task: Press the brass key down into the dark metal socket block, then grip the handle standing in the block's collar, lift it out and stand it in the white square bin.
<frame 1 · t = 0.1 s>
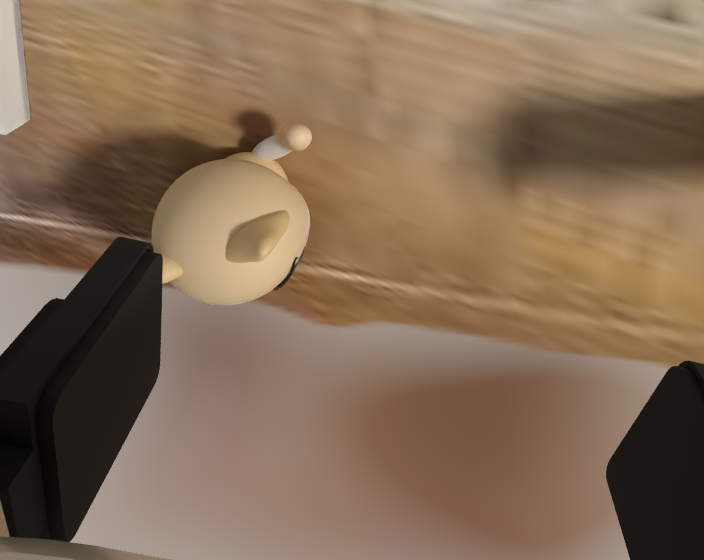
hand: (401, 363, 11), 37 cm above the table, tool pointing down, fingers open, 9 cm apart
cream toy figurine: (251, 184, 51), on the table
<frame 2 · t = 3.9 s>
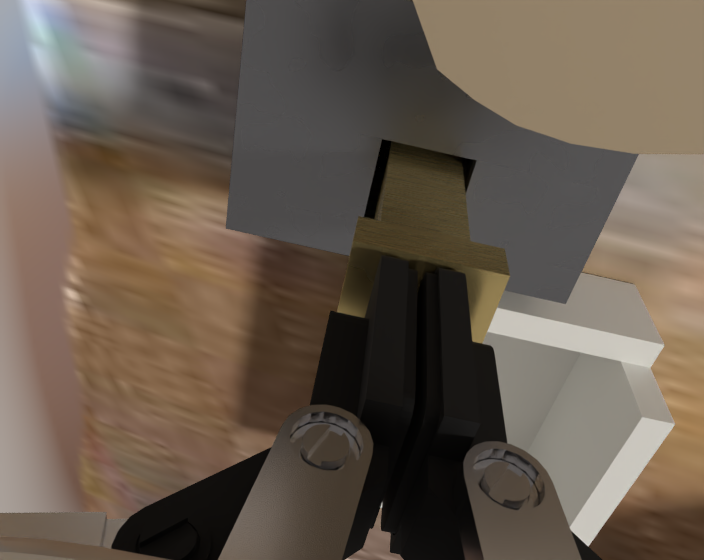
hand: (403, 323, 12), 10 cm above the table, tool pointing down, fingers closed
white square bin: (458, 364, 26), on the table
brass key: (415, 235, 15), point 6 cm above the table, slide at 0.1 cm, touching gripper
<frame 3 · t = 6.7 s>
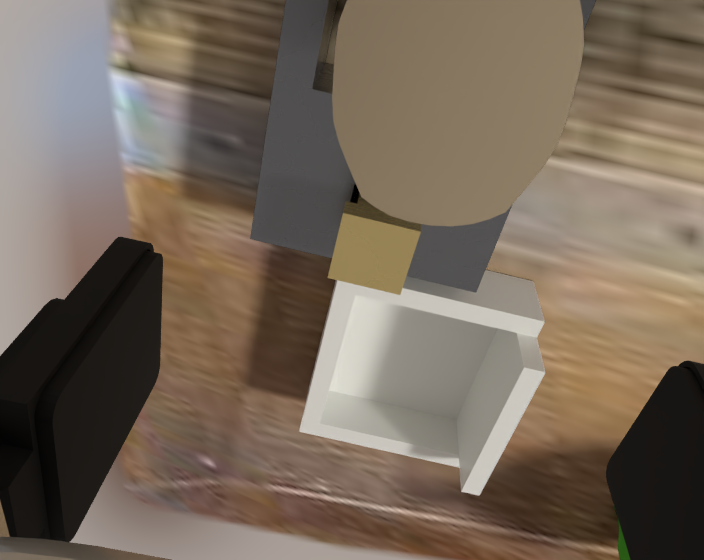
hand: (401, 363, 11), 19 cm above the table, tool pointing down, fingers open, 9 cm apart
white square bin: (411, 339, 35), on the table
brass key: (377, 214, 27), point 4 cm above the table, slide at 2.9 cm
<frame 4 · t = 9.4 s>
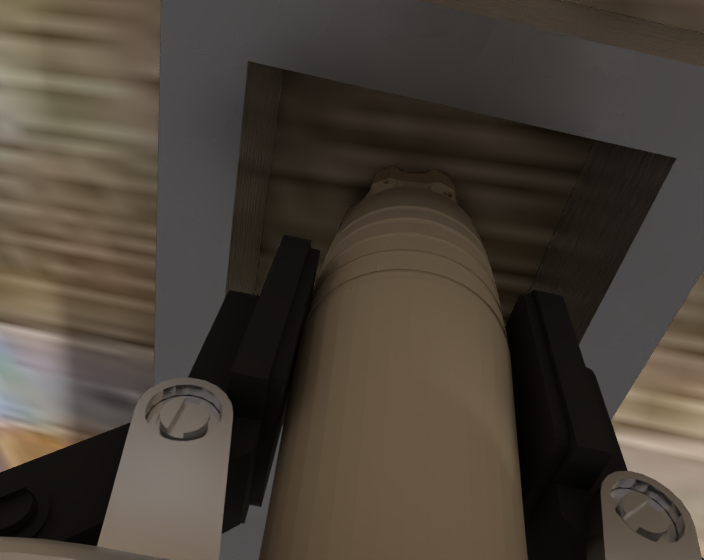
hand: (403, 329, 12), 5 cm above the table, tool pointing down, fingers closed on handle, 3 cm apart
handle: (409, 213, 16), resting in socket block, touching gripper
socket block: (408, 217, 16), on the table
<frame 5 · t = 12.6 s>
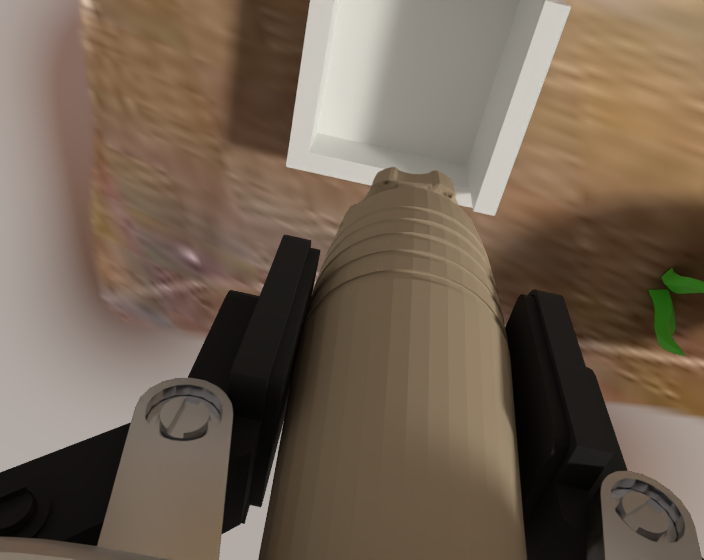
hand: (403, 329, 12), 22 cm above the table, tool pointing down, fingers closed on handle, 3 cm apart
white square bin: (413, 58, 31), on the table
handle: (409, 214, 16), point 17 cm above the table, touching gripper
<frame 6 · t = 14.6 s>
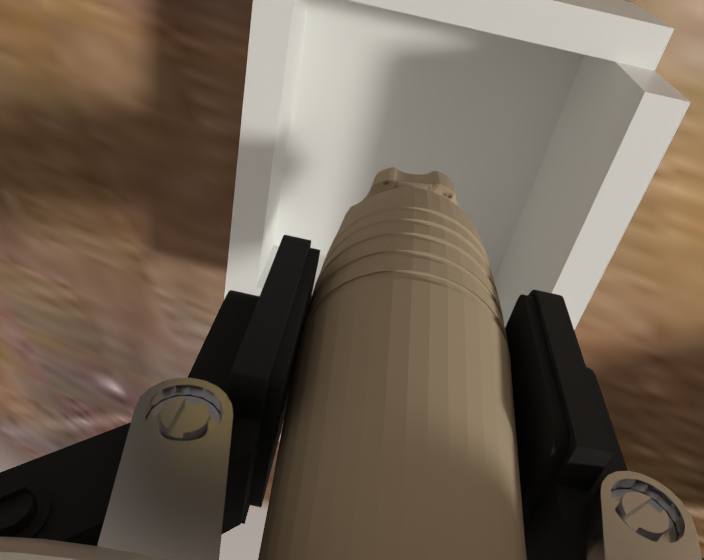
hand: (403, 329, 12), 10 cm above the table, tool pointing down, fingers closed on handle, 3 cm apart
white square bin: (413, 144, 21), on the table
handle: (409, 214, 16), point 5 cm above the table, touching gripper
when the fingers open (7 cm above the table, at t = 16.0 s): handle drops 1 cm, resting on white square bin.
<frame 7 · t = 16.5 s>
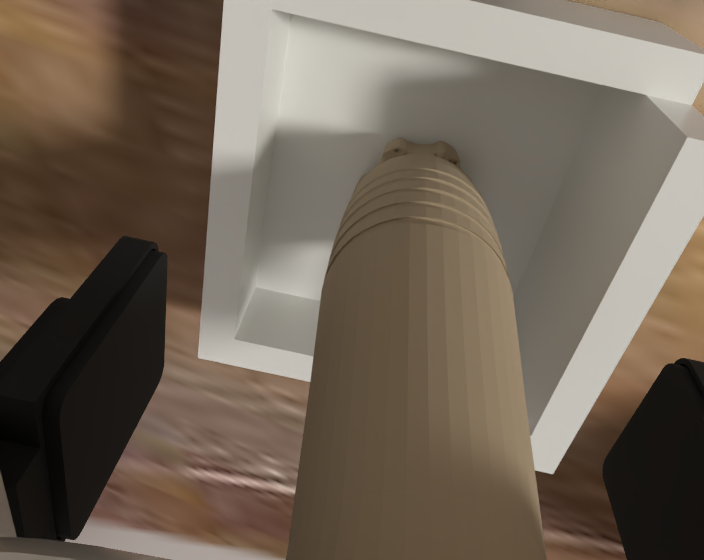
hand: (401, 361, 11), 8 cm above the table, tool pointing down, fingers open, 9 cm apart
white square bin: (410, 178, 18), on the table
handle: (415, 183, 18), point 1 cm above the table, touching white square bin
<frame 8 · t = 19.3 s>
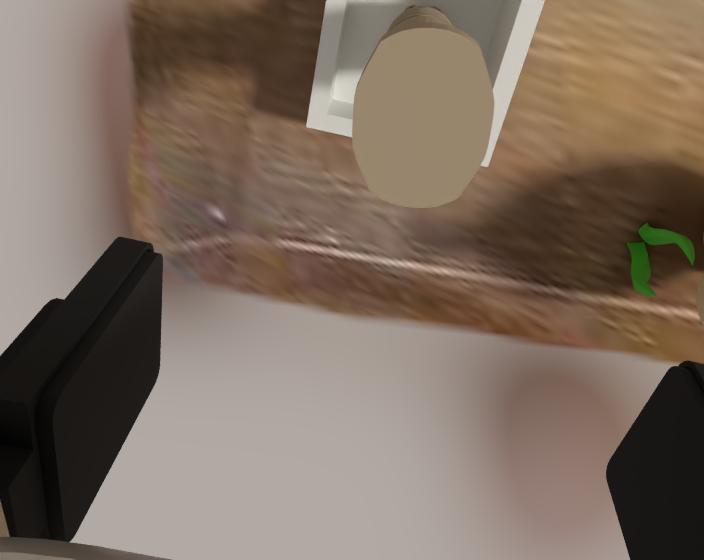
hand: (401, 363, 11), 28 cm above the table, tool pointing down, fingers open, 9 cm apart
white square bin: (417, 32, 35), on the table
handle: (420, 33, 34), point 1 cm above the table, touching white square bin
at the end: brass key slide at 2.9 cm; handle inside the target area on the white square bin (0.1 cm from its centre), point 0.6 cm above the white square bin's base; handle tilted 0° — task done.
